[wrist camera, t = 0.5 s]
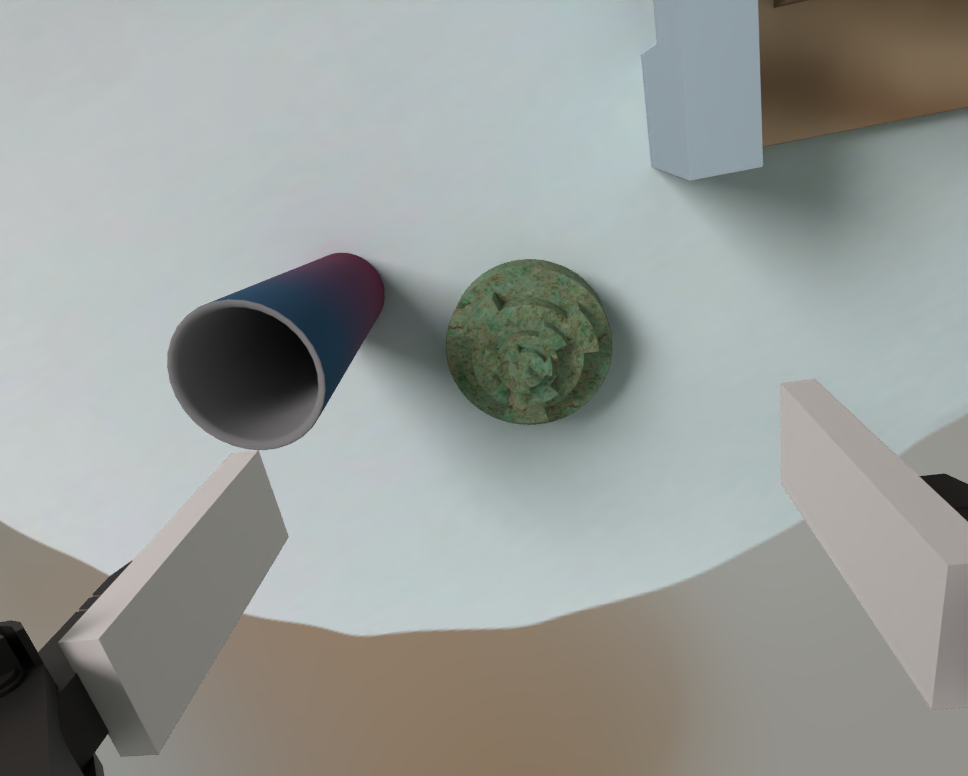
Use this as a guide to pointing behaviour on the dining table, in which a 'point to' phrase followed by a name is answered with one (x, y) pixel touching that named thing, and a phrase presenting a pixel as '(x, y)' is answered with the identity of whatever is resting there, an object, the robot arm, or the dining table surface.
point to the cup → (274, 351)
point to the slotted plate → (704, 88)
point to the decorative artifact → (529, 342)
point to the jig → (858, 63)
